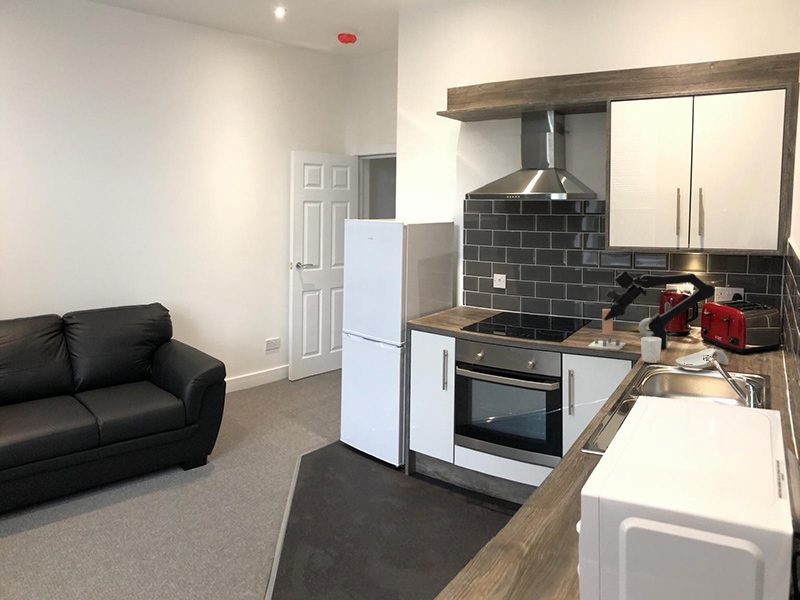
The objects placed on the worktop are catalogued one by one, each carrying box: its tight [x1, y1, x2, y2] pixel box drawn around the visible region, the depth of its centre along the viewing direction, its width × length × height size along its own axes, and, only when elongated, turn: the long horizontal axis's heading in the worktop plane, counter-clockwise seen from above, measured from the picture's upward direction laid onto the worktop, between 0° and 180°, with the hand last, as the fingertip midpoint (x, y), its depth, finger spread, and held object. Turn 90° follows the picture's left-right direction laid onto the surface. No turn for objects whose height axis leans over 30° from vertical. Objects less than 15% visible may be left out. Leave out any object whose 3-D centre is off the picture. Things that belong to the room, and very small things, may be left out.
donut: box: [638, 317, 654, 337], centre depth 306 cm, size 10×3×10 cm, turn 64°
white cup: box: [640, 336, 662, 361], centre depth 258 cm, size 8×8×10 cm
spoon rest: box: [675, 347, 729, 369], centre depth 247 cm, size 24×12×7 cm, turn 115°
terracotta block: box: [601, 308, 614, 335], centre depth 290 cm, size 5×5×11 cm
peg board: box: [587, 336, 627, 351], centre depth 291 cm, size 14×14×3 cm
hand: (604, 319), depth 290 cm, fingers closed on terracotta block, 5 cm apart
